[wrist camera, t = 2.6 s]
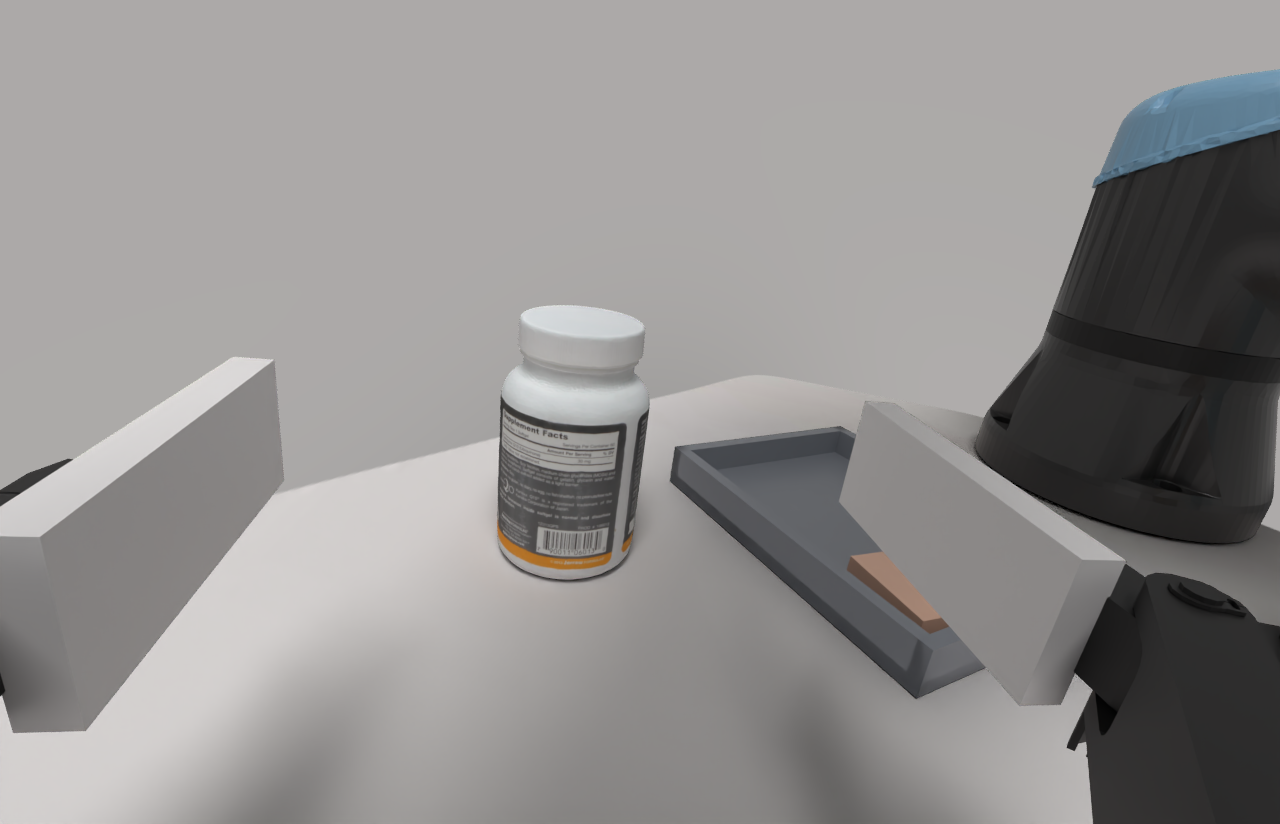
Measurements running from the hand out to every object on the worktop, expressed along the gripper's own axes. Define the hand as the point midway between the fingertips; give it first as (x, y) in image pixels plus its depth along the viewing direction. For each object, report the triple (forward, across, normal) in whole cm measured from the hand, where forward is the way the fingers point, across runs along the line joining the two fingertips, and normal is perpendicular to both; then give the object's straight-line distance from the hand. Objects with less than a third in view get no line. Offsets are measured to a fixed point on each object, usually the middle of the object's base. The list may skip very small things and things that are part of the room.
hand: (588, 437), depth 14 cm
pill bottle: (+10, +1, -10) cm, 14 cm away
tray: (+11, +15, -9) cm, 21 cm away
